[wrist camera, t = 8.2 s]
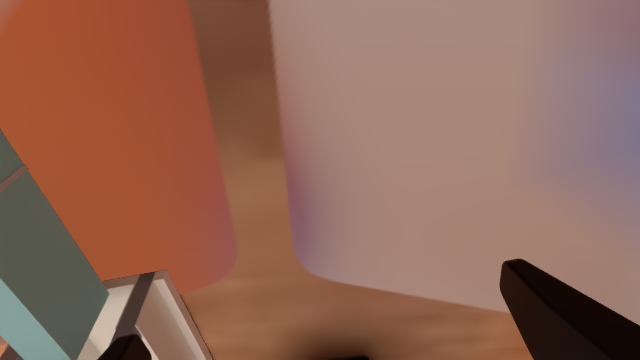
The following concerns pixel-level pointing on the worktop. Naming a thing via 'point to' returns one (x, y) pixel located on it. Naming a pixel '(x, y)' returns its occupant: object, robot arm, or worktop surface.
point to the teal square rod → (41, 272)
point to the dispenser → (143, 320)
